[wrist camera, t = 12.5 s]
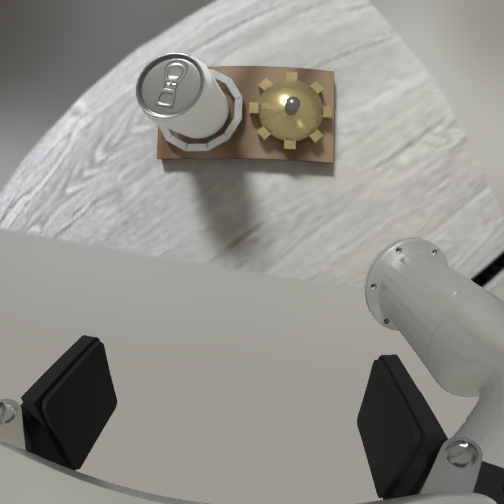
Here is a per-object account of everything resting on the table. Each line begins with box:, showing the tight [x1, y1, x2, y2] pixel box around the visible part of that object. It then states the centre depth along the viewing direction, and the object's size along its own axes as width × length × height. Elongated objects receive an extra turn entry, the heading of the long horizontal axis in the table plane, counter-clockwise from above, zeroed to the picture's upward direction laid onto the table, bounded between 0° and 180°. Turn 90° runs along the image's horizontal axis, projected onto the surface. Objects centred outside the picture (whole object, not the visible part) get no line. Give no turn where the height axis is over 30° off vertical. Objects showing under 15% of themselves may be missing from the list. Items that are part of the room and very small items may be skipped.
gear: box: [249, 72, 332, 150], centre depth 30 cm, size 9×9×4 cm
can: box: [136, 53, 229, 139], centre depth 27 cm, size 6×6×12 cm
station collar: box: [158, 69, 243, 152], centre depth 32 cm, size 10×10×1 cm
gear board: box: [157, 66, 334, 163], centre depth 33 cm, size 20×11×2 cm, turn 88°
